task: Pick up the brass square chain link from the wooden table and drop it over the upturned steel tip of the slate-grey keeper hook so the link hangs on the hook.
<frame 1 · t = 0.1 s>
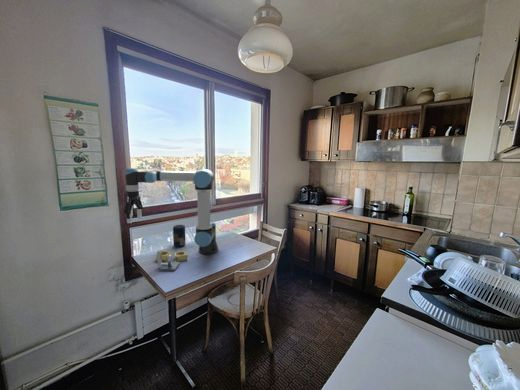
hand: (134, 220, 157), 28 cm above the table, fingers open, 13 cm apart
link: (164, 258, 161), on the table
keeper: (170, 267, 148), on the table
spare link: (180, 258, 161), on the table
canister: (179, 245, 185), on the table
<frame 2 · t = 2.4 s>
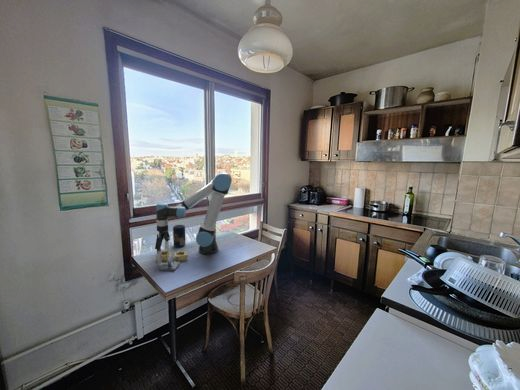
hand: (163, 253, 160), 4 cm above the table, fingers open, 13 cm apart
nothing on the table moved.
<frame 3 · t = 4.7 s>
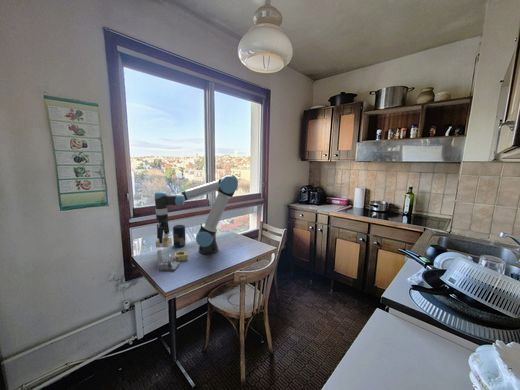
hand: (164, 244, 159), 11 cm above the table, fingers closed on link, 8 cm apart
link: (164, 245, 159), point 10 cm above the table, touching gripper
everything else where it was.
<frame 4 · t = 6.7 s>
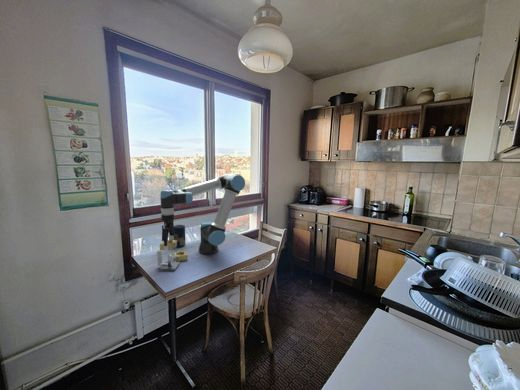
hand: (168, 247, 146), 14 cm above the table, fingers closed on link, 8 cm apart
link: (168, 248, 146), point 14 cm above the table, touching gripper
everything else where it was.
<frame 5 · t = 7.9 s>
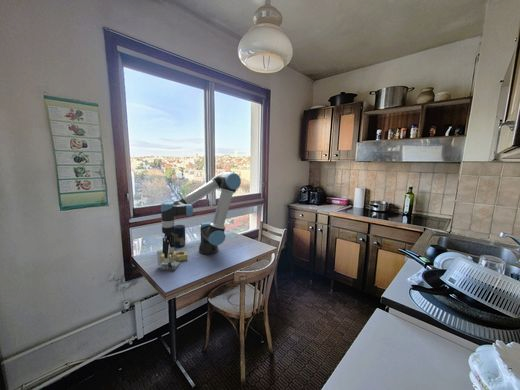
hand: (169, 259, 147), 6 cm above the table, fingers closed on link, 8 cm apart
link: (169, 259, 147), point 5 cm above the table, touching gripper
everything else where it was.
when the fingers open (4 cm above the table, at t = 8.8 s): link drops 1 cm, resting on keeper.
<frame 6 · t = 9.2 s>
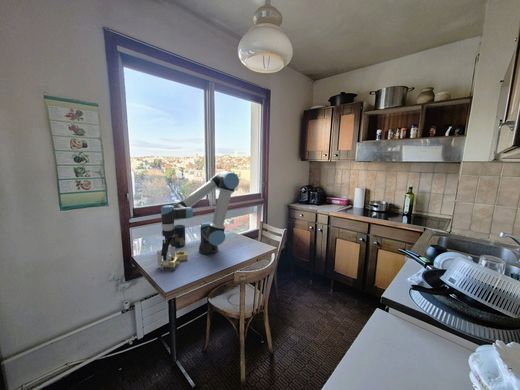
hand: (169, 260, 147), 5 cm above the table, fingers open, 13 cm apart
link: (169, 264, 148), point 2 cm above the table, tilted 9°, touching keeper
everything else where it was.
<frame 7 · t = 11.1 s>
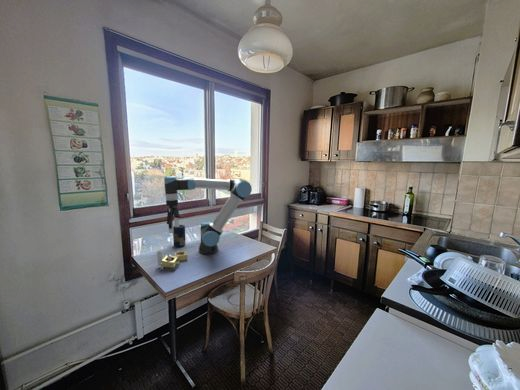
hand: (174, 229, 152), 23 cm above the table, fingers open, 13 cm apart
nothing on the table moved.
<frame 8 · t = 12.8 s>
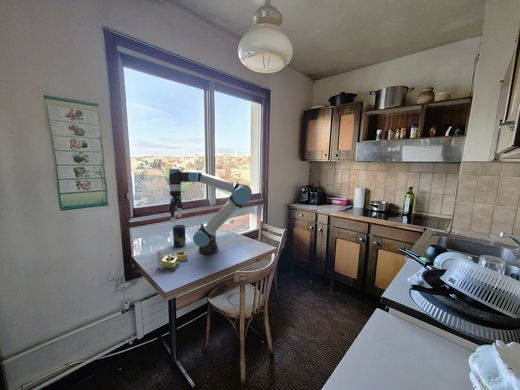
hand: (176, 219, 159), 29 cm above the table, fingers open, 13 cm apart
nothing on the table moved.
at the end: link 0.3 cm from the keeper (horizontally); link point 2.1 cm above the table; the gripper is holding nothing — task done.
